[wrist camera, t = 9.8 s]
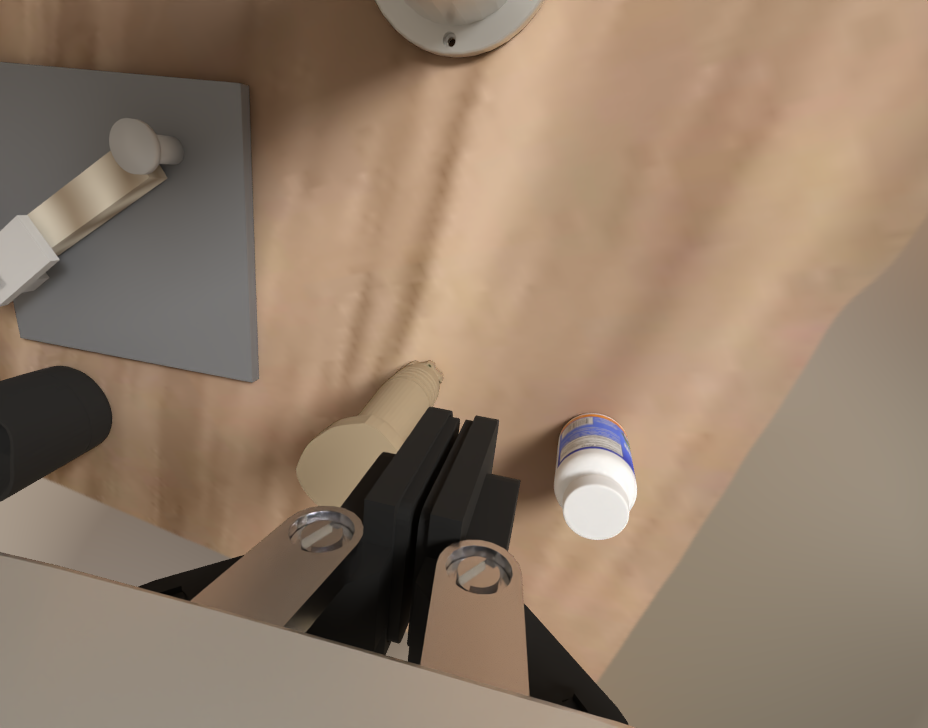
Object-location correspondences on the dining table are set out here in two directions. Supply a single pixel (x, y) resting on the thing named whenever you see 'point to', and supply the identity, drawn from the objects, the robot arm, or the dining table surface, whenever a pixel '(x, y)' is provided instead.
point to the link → (90, 201)
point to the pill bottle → (595, 476)
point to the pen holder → (47, 423)
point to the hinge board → (133, 217)
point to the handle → (367, 434)
